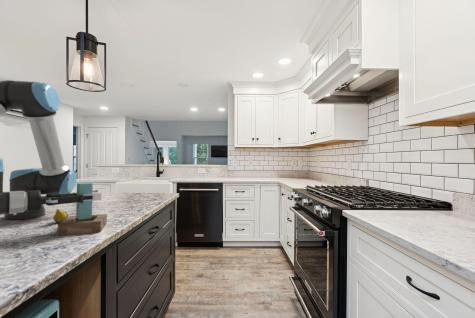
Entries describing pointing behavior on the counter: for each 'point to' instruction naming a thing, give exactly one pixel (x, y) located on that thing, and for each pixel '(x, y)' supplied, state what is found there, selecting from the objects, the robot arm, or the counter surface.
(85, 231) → the block
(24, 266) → the counter surface
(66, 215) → the yellow grooved cone
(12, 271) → the counter surface
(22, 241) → the counter surface
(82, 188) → the teal peg
